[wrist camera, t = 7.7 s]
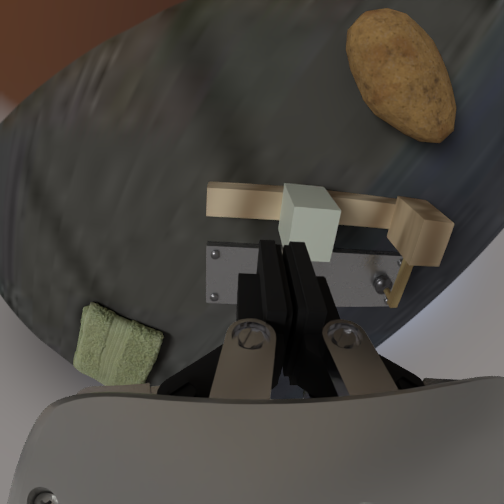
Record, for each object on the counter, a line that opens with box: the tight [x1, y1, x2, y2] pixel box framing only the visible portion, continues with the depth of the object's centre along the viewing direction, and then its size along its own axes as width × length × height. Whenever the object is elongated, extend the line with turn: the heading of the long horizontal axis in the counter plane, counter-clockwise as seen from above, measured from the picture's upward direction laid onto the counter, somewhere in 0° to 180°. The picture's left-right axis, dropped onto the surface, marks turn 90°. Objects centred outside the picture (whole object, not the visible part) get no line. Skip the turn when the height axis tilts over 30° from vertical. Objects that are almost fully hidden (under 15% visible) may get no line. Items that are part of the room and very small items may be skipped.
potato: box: [346, 8, 456, 143], centre depth 23 cm, size 10×14×8 cm
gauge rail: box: [206, 182, 454, 308], centre depth 32 cm, size 25×12×8 cm, turn 85°
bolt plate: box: [206, 241, 403, 307], centre depth 38 cm, size 25×8×2 cm, turn 85°
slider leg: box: [278, 183, 341, 262], centre depth 31 cm, size 4×12×6 cm, turn 175°
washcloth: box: [73, 302, 164, 386], centre depth 43 cm, size 13×18×3 cm
